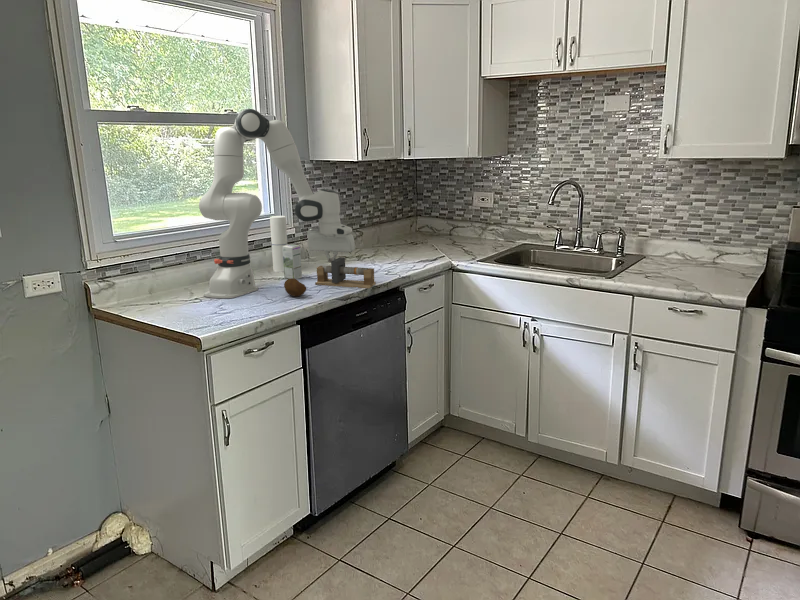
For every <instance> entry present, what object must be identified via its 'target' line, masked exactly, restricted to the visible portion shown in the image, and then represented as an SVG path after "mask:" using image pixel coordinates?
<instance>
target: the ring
mask: <svg viewBox="0 0 800 600" xmlns="http://www.w3.org/2000/svg"><path fill="white" fill-rule="evenodd" d="M330 263H331V264H330V266H331V272H332V273H331V279H332V283H338V282H340V281H342V280H346V278H347V277H346V275H347V274H339V266H340V267H346V257H341V256H340V257H337V258H336V259H335V260H333V261H331V262H330Z"/></svg>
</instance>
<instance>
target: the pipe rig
mask: <svg viewBox="0 0 800 600" xmlns="http://www.w3.org/2000/svg"><path fill="white" fill-rule="evenodd" d="M329 274H332V272H331V265H319V266H317V267H316V282H315V285H316V286H329V287H341V286H342V287H343V288H356V287H358V288H359V289H371V288H372V287H373V285H374V286H375V285H376V284H377V281H375V268H372V267H358V266H355V267H354V266H345V267H340V266H339V274H346V275H355V276H360V275H361V276H363V280H359V279H358V280H355V279H354V280H353V279H344V280H342V281H340V282H338V283H332V278H329Z"/></svg>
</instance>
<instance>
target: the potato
mask: <svg viewBox="0 0 800 600" xmlns="http://www.w3.org/2000/svg"><path fill="white" fill-rule="evenodd" d="M283 288H284V290H285V292H287V294H288V295H289V296H291V297H295V298H297V297H301V296H302V295H304V294H305V293H306V291H307V286H306V285H305V283H302V282H301V281H299V280H298V279H294V278H291V279H286V280H285V281H284V283H283Z"/></svg>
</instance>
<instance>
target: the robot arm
mask: <svg viewBox="0 0 800 600" xmlns="http://www.w3.org/2000/svg"><path fill="white" fill-rule="evenodd" d="M288 128H289V127H288V126H286V124H285V123H284V122H283V121H282V120H280V119H273V120H269V119H267V117H265V116H264V115H263V114H262V113H261V112H259V111H258V110H255V109H252V108H245V109H242V110H241V111H240V112H238V113H237V115H236V117H235V120H234V124H233V125H231V126H223V127H221V128H219V129H217V131H216V132H215V137H214V144H213V145H214V146H213V159H214V160H213V164H214V166H213V169H214V171H213V179H212V183H211V185H210V186H209V188H208V190H207V191H206V192H205V194H203V195H202V196H201V198H200V200H199V203H198V208H199V212H200V214H201V215H202V217H204V218H206V219H209V220H213V221H229V226H228V228H227V229H226V230H224V231H223V232H221V234H219V238H218V241H219V242H218V243H219V257H218V258H214V259H213V261H214V264H215V265H217V264H218V266H217V268H216V270H215V271H214V272H213V274H212V276H211V277H210V279H209V281H208V282H209V283H208V284H209V286H208V288H209V289H208V290H207V291H205V292H204V293H203V297H207V298H213V299H234V298H237V297H238V298H239V297H240V296H243V295H247V294H249V293H252V292H256V291H258V290H259V288H258V286H257V285H256V280H255V275H254V270H253V268H252V267H251V256H250V253H249V239H248V238H249V231H250V229H251V227H252V225H253V224H254V222H255V221H257V220H258V219H259V217H260V216H261V214H262V211H263V205H262V201H261V199H260V198H259V197H258V196H257V195H256V194H252V193H248V192H233V188H234V186H235V185H236V184H238V183H239V182H240V181H242V179H243V178H244V174H245V172H244V170H245V165H244V145H245V143H247V142H250V141H253V140H257V139H260V140H261V141H262V142H263V143H264V144H265V146H266V148H267V152H268V154H269V156H270V158H271V160H272V162H273V164H274V165H275V167H276V168H277V169H278V170H279V171H281V172H282V173H284V174H285V175H286V176H287V177H288V178H289V180H290V182H291V184H292V186H293V188H294V190H295V193H296V194H297V197H298V202H297V203H296V204H295V207H294V214H295V215H296V217H297V219H298V220H300V221H302V222H307V223H310V222H313V221H316V220H318V225H319V226H318V228H316V227H314V228H310V229H308V230H307V232H306V233H307V249H308V251H310V252H311V251H312V252H313V251H315V252H324V255H325V257H326V258H327V262H328V263H331V261H333V260H335V259H337V258H336V257H337V256H338V254H339V253H340V252H341V253H352V252H354V251H355V249H356V244H355V238H354V235H353V234H352V232H353V228H352V227H350V226H347V225H345V224H342V223H341V217H340V214H341V204H340V203H341V202H340V196H339V194H338V192H337V191H336V190H333V189H330V188H329V189H328V188H320V189H319V190H318V191H316V192H314V191H313V190H312V187H311V185H310V183H309V181H308V178H307V176H306V174H305V172H304V169H303V165H302V161H301V157H300V154H299V151H298V147H297V145H296V142H295V140H294V138H293V135H292V133H291V132H290V130H289V129H288ZM331 252H332V255H333V256H330V253H331Z"/></svg>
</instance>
